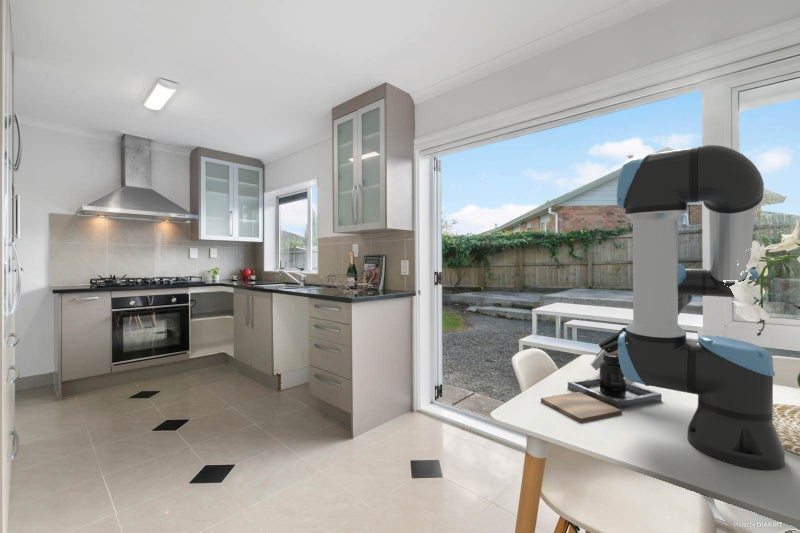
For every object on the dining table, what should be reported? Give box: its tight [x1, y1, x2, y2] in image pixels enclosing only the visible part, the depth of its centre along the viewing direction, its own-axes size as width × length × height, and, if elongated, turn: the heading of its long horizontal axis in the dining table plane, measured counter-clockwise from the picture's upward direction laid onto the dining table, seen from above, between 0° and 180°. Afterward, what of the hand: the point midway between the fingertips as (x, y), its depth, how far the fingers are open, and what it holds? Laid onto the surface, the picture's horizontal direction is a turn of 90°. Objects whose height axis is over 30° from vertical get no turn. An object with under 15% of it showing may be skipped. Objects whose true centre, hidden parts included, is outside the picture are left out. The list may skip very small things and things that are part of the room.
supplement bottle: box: [599, 353, 627, 399], centre depth 108 cm, size 7×7×12 cm
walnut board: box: [540, 391, 623, 423], centre depth 98 cm, size 14×14×1 cm
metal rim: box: [567, 376, 663, 410], centre depth 108 cm, size 17×17×2 cm
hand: (609, 374), depth 108 cm, fingers open, 13 cm apart
